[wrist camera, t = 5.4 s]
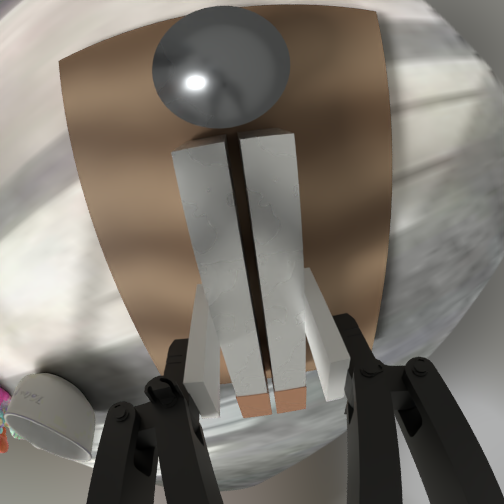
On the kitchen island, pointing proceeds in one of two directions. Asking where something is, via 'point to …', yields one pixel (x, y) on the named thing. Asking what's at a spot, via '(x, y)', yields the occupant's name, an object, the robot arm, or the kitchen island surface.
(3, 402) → the candy landscape model
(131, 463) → the robot arm
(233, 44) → the tongs fixed
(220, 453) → the kitchen island surface
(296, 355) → the tongs arm
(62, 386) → the teacup
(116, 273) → the board
